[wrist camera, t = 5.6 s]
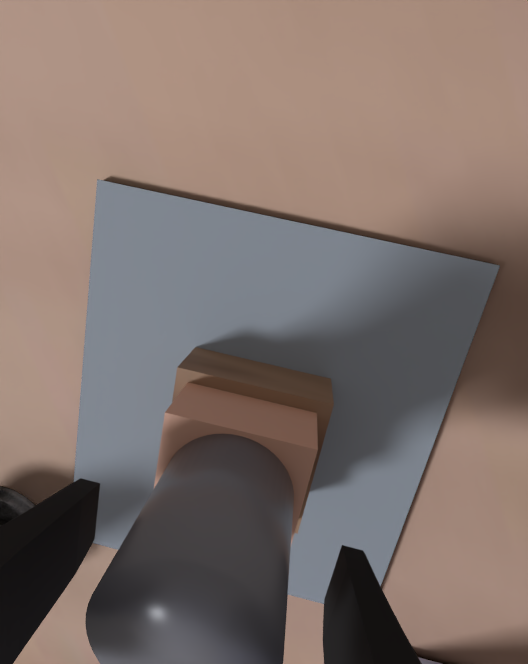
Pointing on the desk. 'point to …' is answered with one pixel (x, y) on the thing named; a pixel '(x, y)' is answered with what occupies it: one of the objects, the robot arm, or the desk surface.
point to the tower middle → (243, 431)
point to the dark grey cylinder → (202, 563)
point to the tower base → (261, 387)
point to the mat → (273, 355)
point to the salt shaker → (12, 505)
